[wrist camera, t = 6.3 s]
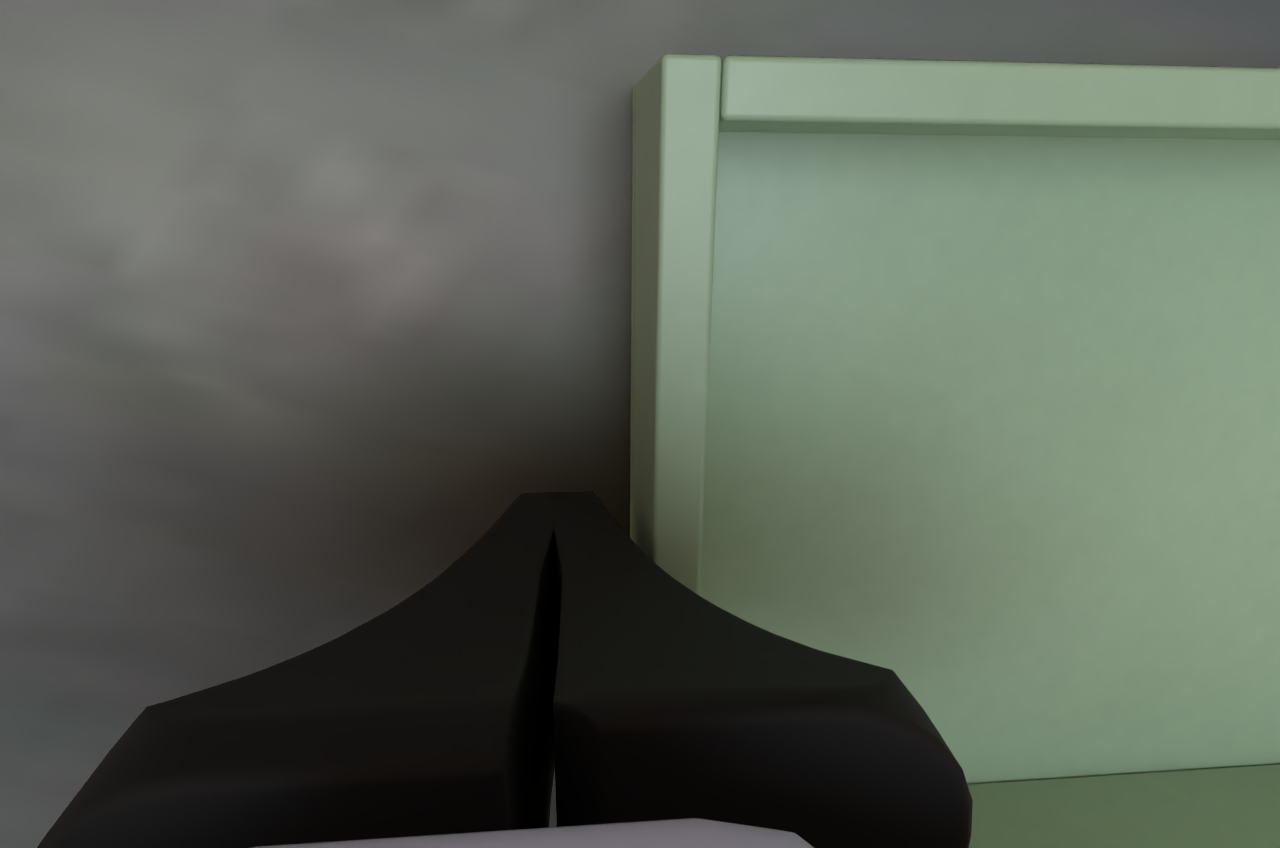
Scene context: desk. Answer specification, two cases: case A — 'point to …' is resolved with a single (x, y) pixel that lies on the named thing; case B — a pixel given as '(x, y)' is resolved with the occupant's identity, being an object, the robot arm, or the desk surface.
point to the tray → (983, 410)
